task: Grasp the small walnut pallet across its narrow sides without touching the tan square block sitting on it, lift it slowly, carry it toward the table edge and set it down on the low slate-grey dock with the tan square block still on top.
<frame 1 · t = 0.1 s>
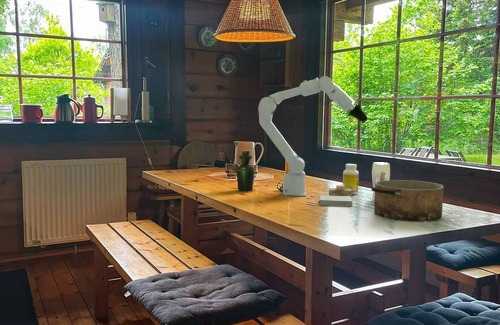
hand: (365, 120, 196), 32 cm above the table, tool tilted 50°, fingers open, 7 cm apart
beer glass: (379, 200, 193), on the table
supplement bottle: (350, 194, 207), on the table
dock: (335, 203, 184), on the table
cooking pot: (407, 215, 165), on the table
tan square block: (340, 189, 194), point 4 cm above the table, touching pallet
pallet: (339, 198, 195), on the table, touching tan square block
potion bottle: (245, 191, 212), on the table
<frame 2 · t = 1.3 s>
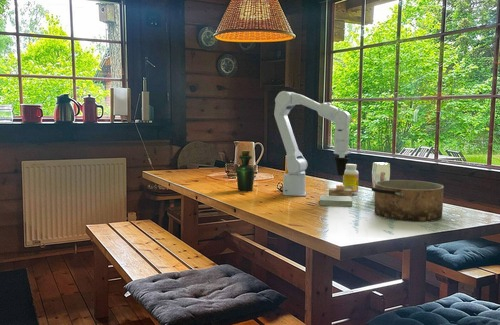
hand: (340, 173, 194), 10 cm above the table, tool pointing down, fingers open, 7 cm apart
nothing on the table moved.
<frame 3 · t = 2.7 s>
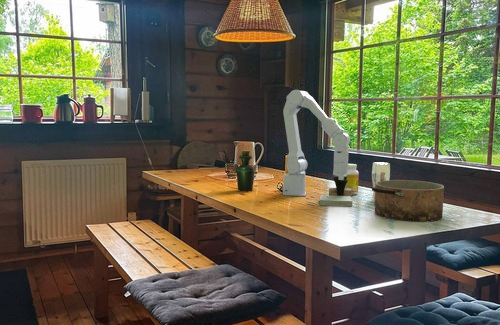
hand: (339, 195, 195), 1 cm above the table, tool pointing down, fingers closed on pallet, 5 cm apart
pallet: (339, 198, 195), on the table, touching tan square block, gripper
everything else where it was.
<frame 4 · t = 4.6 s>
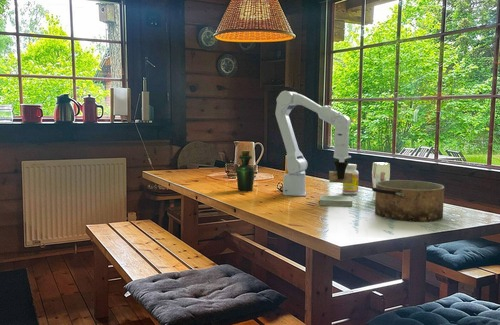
hand: (340, 178, 194), 8 cm above the table, tool pointing down, fingers closed on pallet, 5 cm apart
tan square block: (340, 172, 194), point 11 cm above the table, touching pallet
pallet: (340, 181, 194), point 7 cm above the table, touching tan square block, gripper
everything else where it was.
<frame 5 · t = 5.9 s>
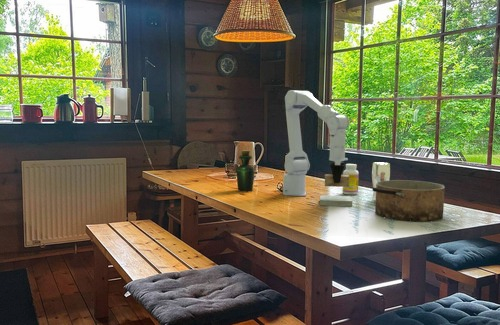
hand: (336, 181, 184), 8 cm above the table, tool pointing down, fingers closed on pallet, 5 cm apart
tan square block: (336, 175, 183), point 11 cm above the table, touching pallet
pallet: (336, 185, 184), point 7 cm above the table, touching tan square block, gripper
everything else where it was.
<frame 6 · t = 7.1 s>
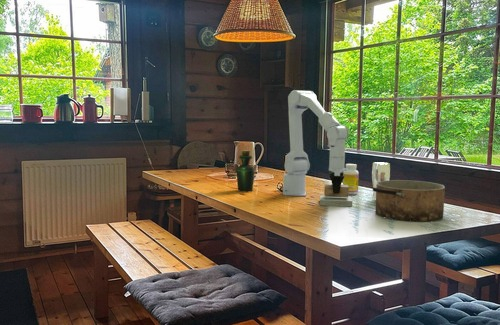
hand: (336, 192, 184), 4 cm above the table, tool pointing down, fingers closed on pallet, 5 cm apart
tan square block: (336, 185, 184), point 7 cm above the table, touching pallet
pallet: (336, 195, 184), point 3 cm above the table, touching tan square block, gripper
everything else where it was.
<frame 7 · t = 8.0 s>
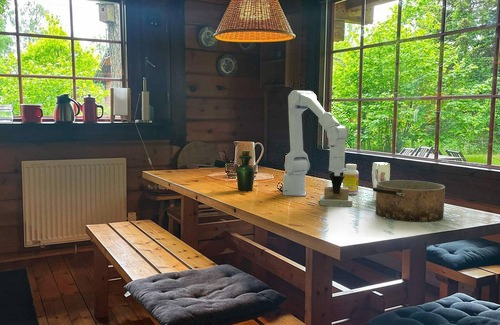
hand: (336, 192, 184), 4 cm above the table, tool pointing down, fingers open, 6 cm apart
pallet: (336, 198, 184), point 2 cm above the table, touching tan square block, dock
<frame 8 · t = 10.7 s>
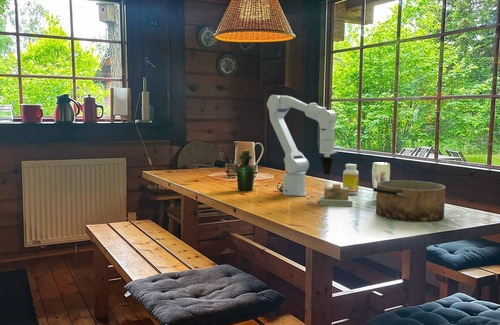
hand: (326, 173, 192), 10 cm above the table, tool pointing down, fingers open, 7 cm apart
nothing on the table moved.
at the end: pallet inside the target area on the dock (0.1 cm from its centre), point 2.0 cm above the dock's base; tan square block 0.2 cm off-centre on the pallet, point 4.0 cm above the pallet's base; tan square block tilted 0° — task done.
